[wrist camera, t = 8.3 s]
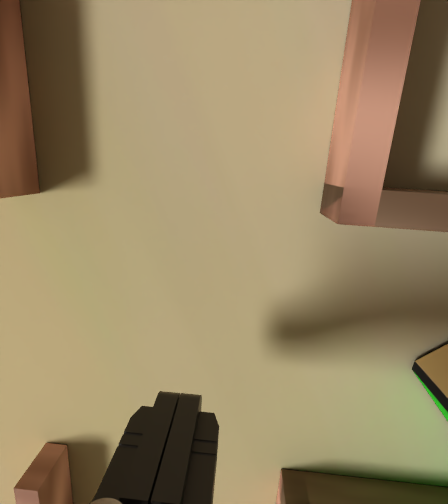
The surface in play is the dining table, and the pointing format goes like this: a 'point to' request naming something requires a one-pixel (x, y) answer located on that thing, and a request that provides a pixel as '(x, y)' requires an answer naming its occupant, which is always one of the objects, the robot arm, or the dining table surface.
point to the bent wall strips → (333, 207)
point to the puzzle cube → (435, 376)
